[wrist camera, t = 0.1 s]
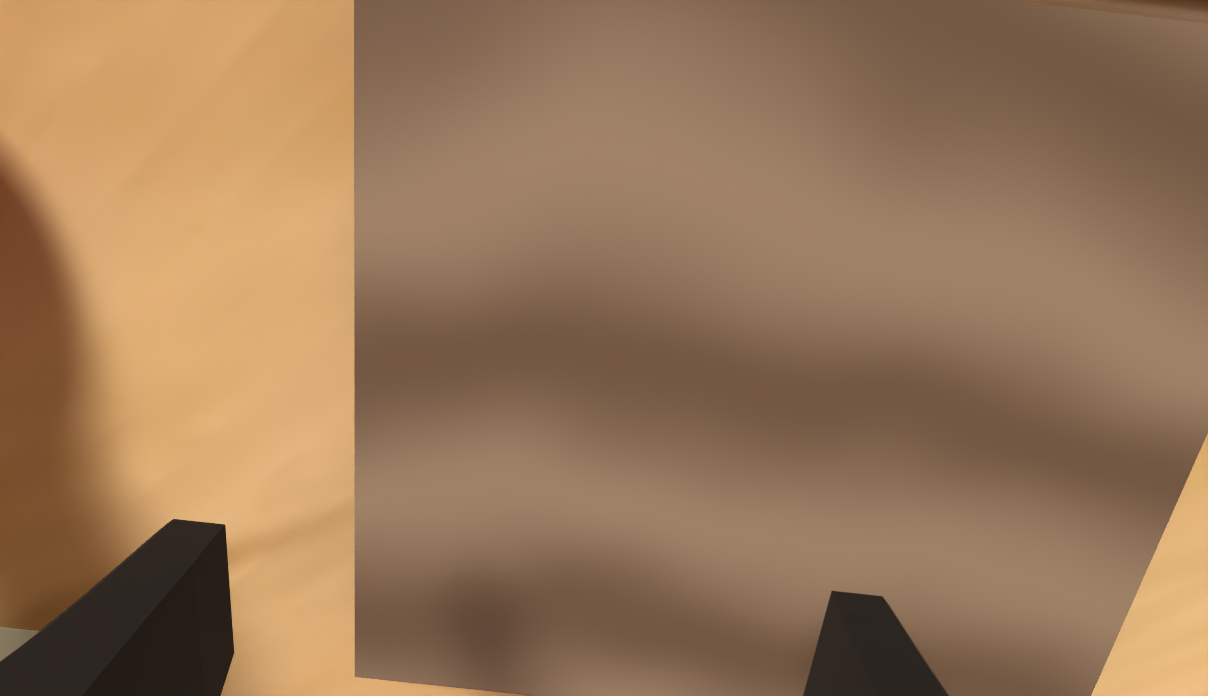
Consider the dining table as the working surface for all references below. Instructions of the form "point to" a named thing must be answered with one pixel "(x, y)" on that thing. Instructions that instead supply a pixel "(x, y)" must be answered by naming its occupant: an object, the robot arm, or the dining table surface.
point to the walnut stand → (770, 334)
